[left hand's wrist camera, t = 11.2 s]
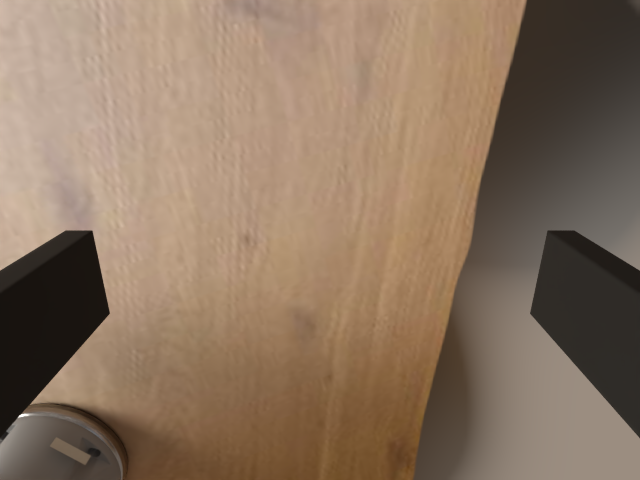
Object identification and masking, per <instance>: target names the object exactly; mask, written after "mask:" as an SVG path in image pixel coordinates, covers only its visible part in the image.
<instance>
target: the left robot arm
mask: <svg viewBox="0 0 640 480" xmlns="http://www.w3.org/2000/svg"><path fill="white" fill-rule="evenodd" d="M109 314H110V312H109V307H108V302H107V298H106V293H105V288H104V283H103V279H102V274H101V269H100V264H99V260H98V255H97V250H96V245H95V241H94V236H93V231H64V232H63V233H61V234H59V235H58V236H56V237H55V238H53V239H51V240H50V241H48V242H46V243H45V244H43V245H41V246H40V247H38V248H37V249H35V250H33V251H32V252H30V253H28V254H27V255H25V256H24V257H22V258H20V259H19V260H17V261H15V262H14V263H12V264H10V265H9V266H7V267H6V268H4V269H2V270H1V271H0V480H124V478H125V476H126V473H127V468H128V460H127V454H126V451H125V449H124V447H123V444H122V443H121V441H120V440H119V438H118V437H117V436H116V434H115V433H114V432H113V431H112V430H111V429H110V428H109V427H108V426H106V425H105V424H104V423H103V422H101V421H100V420H98V419H97V418H95V417H93V416H91V415H89V414H87V413H85V412H83V411H80V410H78V409H74V408H71V407H67V406H62V405H56V404H35V405H30V404H31V402H32V401H33V400H34V399H35V398H36V397H37V396H38V394H39V393H40V392H41V391H42V390H43V389H44V388H45V387H46V385H47V384H48V383H49V382H50V381H51V380H52V379H53V377H54V376H55V375H56V374H57V373H58V372H59V371H60V370H61V368H62V367H63V366H64V365H65V364H66V363H67V362H68V360H69V359H70V358H71V357H72V356H73V355H74V354H75V352H76V351H77V350H78V349H79V348H80V347H81V346H82V345H83V343H84V342H85V341H86V340H87V339H88V338H89V337H90V335H91V334H92V333H93V332H94V331H95V330H96V329H97V328H98V326H99V325H100V324H101V323H102V322H103V321H104V320H105V318H106V317H107V316H108V315H109ZM530 314H531V315H532V316H533V317H534V318H535V319H536V321H537V322H538V323H539V324H540V325H541V326H542V327H543V329H544V330H545V331H546V332H547V333H548V334H549V335H550V337H551V338H552V339H553V340H554V341H555V342H556V343H557V345H558V346H559V347H560V348H561V349H562V350H563V351H564V352H565V354H566V355H567V356H568V357H569V358H570V359H571V360H572V362H573V363H574V364H575V365H576V366H577V367H578V368H579V369H580V371H581V372H582V373H583V374H584V375H585V376H586V377H587V379H588V380H589V381H590V382H591V383H592V384H593V385H594V386H595V388H596V389H597V390H598V391H599V392H600V393H601V394H602V396H603V397H604V398H605V399H606V400H607V401H608V402H609V404H610V405H611V406H612V407H613V408H614V409H615V410H616V412H617V413H618V414H619V415H620V416H621V417H622V418H623V419H624V421H625V422H626V423H627V424H628V425H629V426H630V427H631V428H632V430H633V431H634V432H635V433H636V434H637V435H638V436H639V438H640V271H639V270H638V269H636V268H634V267H633V266H631V265H630V264H628V263H626V262H625V261H623V260H621V259H620V258H618V257H616V256H615V255H613V254H612V253H610V252H608V251H607V250H605V249H603V248H602V247H600V246H599V245H597V244H595V243H594V242H592V241H590V240H589V239H587V238H585V237H584V236H582V235H581V234H579V233H577V232H576V231H547V236H546V241H545V245H544V250H543V255H542V260H541V264H540V269H539V274H538V279H537V283H536V288H535V293H534V298H533V303H532V307H531V312H530Z"/></svg>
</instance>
